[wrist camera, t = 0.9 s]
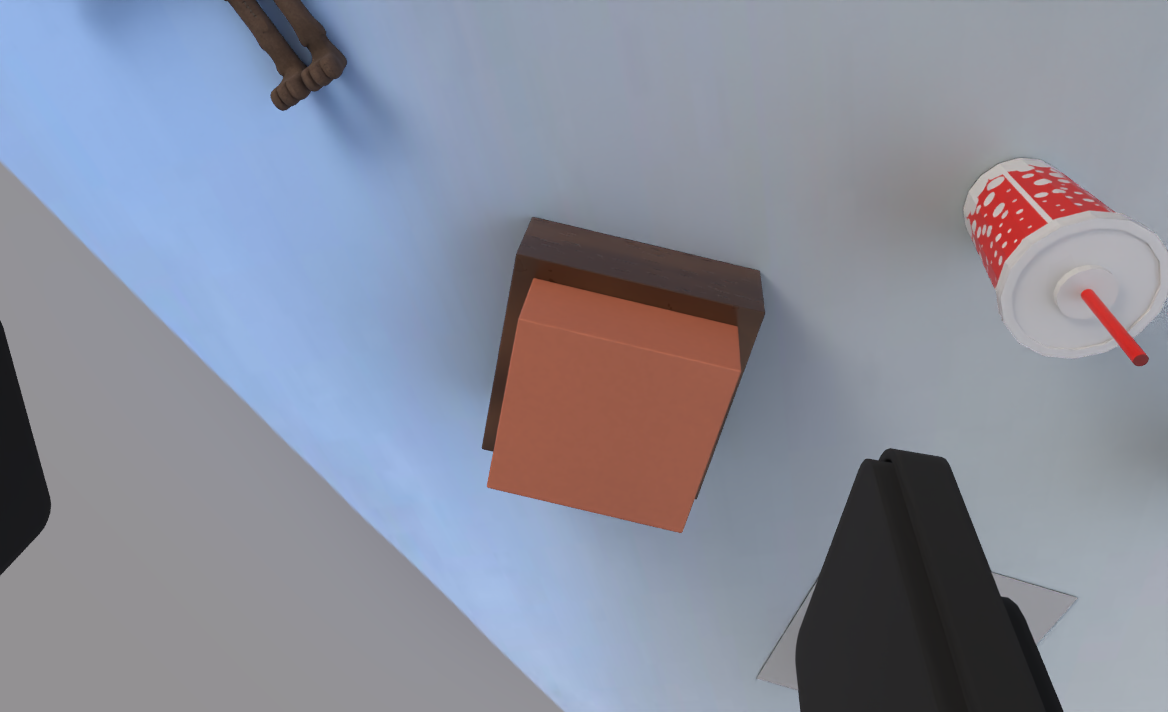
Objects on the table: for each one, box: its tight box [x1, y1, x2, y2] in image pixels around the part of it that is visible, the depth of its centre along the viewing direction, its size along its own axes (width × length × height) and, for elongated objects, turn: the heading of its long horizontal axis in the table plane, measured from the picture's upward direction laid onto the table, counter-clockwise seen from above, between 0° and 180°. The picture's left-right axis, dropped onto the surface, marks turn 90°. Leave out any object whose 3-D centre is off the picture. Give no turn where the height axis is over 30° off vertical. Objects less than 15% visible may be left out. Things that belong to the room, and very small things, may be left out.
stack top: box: [487, 278, 741, 533], centre depth 42 cm, size 10×10×4 cm
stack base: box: [482, 217, 765, 499], centre depth 46 cm, size 12×12×4 cm
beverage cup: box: [963, 158, 1168, 366], centre depth 35 cm, size 6×6×14 cm
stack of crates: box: [757, 573, 1077, 690], centre depth 54 cm, size 15×15×7 cm
